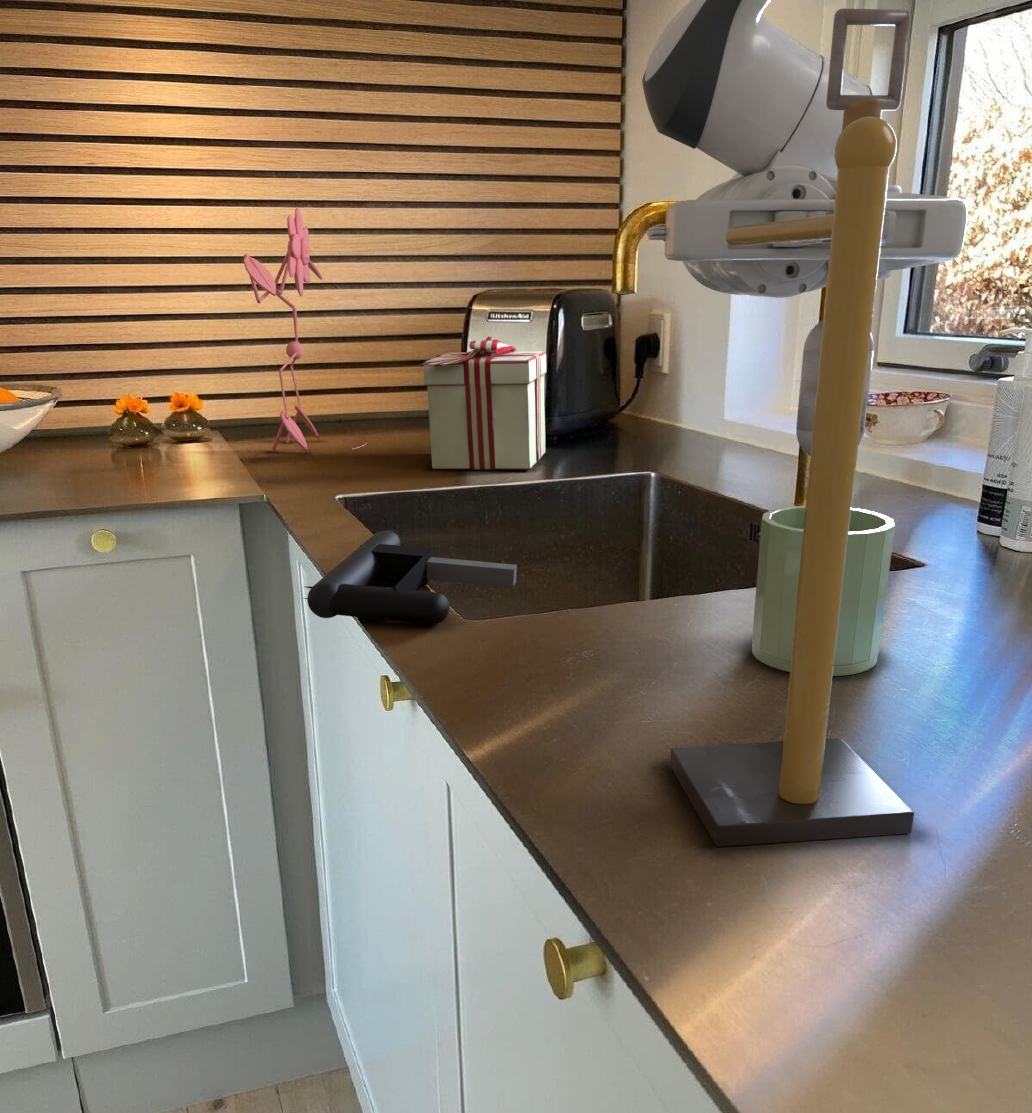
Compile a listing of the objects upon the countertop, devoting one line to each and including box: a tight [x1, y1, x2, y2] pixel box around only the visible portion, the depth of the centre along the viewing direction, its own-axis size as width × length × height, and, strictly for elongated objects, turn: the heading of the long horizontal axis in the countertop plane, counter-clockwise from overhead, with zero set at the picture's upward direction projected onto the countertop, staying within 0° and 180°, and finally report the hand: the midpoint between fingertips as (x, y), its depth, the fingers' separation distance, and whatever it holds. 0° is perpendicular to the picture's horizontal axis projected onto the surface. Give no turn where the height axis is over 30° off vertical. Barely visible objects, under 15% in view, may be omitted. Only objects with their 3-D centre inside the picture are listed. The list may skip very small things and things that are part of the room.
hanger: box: [669, 116, 915, 848], centre depth 54 cm, size 10×19×32 cm, turn 7°
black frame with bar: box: [303, 529, 518, 625], centre depth 91 cm, size 3×20×16 cm
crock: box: [751, 505, 896, 677], centre depth 74 cm, size 9×9×10 cm
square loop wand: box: [795, 8, 912, 457], centre depth 66 cm, size 5×4×26 cm
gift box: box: [419, 336, 548, 471], centre depth 149 cm, size 17×18×17 cm
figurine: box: [242, 206, 368, 457], centre depth 161 cm, size 15×26×35 cm, turn 178°
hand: (857, 226), depth 64 cm, fingers closed on square loop wand, 2 cm apart
